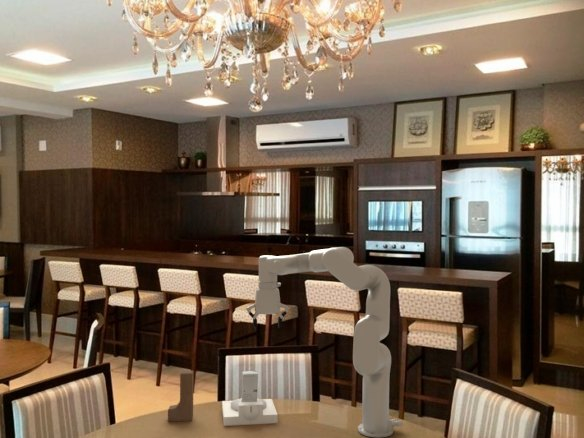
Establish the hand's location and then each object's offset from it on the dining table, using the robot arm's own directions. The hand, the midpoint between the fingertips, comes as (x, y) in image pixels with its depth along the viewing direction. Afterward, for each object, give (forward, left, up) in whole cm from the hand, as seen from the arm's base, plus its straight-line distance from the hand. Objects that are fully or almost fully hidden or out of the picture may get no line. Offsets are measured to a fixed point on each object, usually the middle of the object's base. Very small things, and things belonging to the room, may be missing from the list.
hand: (267, 328), depth 220 cm
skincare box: (+8, +6, -28) cm, 30 cm away
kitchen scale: (+8, +8, -32) cm, 34 cm away
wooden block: (+34, +8, -32) cm, 48 cm away
